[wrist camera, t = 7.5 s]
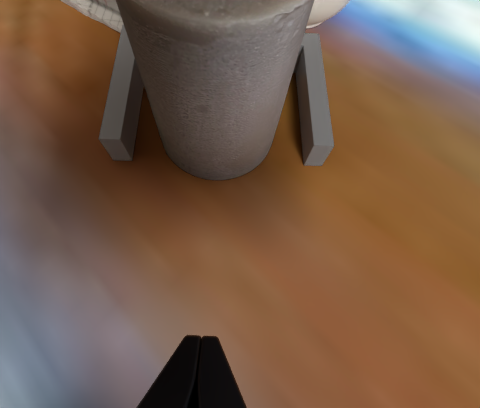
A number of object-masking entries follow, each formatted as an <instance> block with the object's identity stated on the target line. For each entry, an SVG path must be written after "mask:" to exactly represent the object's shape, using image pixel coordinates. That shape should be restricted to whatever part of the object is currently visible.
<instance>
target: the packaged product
mask: <svg viewBox="0 0 480 408" xmlns="http://www.w3.org/2000/svg"><path fill="white" fill-rule="evenodd" d="M60 1H62V2H64V3H66V4H67V5H69V6H71V7H73V8H75V9H76V10H78V11H79V12H81V13H82V14H84V15H86V16H89V17H90V18H92V19H94V20H97V21H99V22H101V23H104V24H105V25H107V26H108V27H110V28H112V29H114V30H116V31H118V32H119V33H121V29H122V25H123V21H122V18H121V14H120V11H119V9H118V6H117V2H116V0H60Z"/></svg>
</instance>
